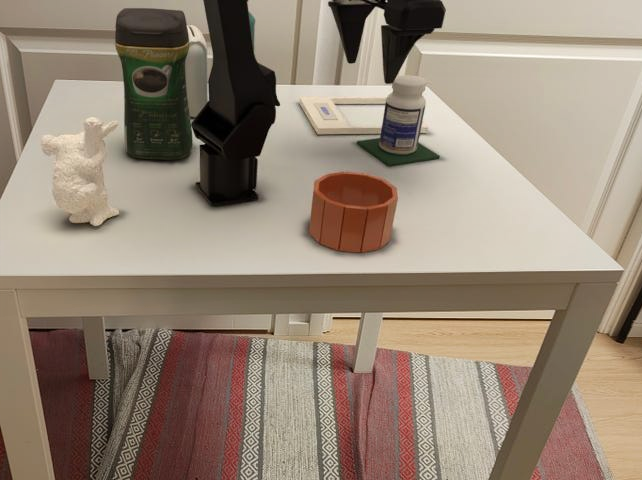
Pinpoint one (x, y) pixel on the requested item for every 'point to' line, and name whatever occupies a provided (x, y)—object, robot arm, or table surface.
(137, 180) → the table surface
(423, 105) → the pill bottle
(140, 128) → the coffee jar
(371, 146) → the mat
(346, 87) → the table surface
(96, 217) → the white animal figurine
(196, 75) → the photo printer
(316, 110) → the photo frame
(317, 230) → the pot
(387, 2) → the robot arm
